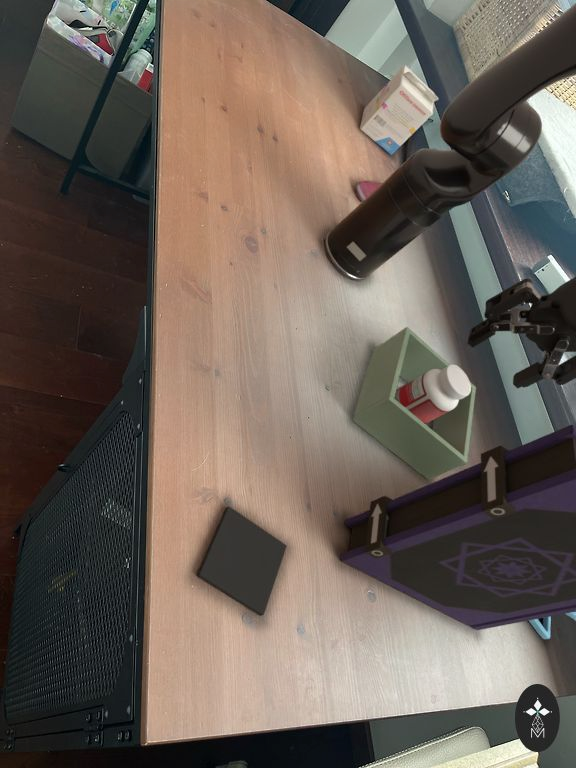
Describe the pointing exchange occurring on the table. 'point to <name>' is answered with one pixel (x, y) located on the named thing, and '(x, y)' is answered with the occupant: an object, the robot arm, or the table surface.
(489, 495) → the book
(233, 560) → the mat
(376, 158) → the table surface
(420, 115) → the ink box
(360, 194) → the eraser
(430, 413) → the pill bottle
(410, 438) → the green open box
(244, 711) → the table surface
